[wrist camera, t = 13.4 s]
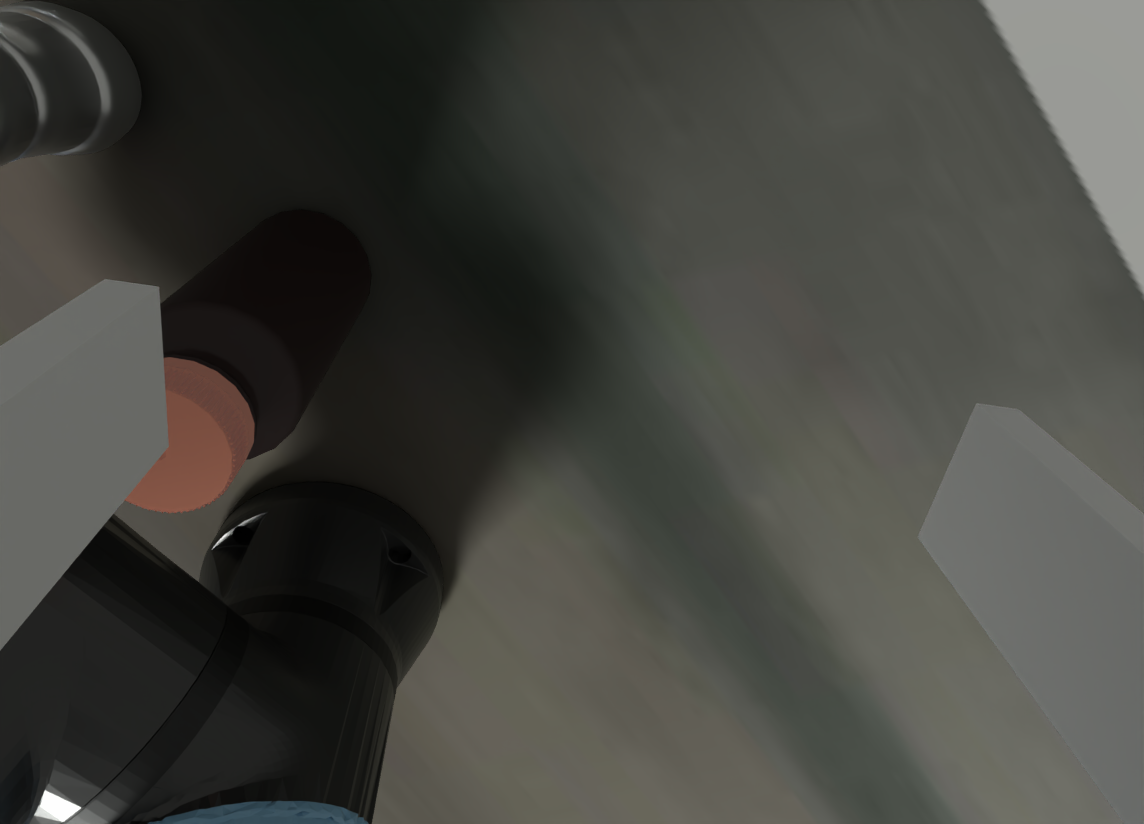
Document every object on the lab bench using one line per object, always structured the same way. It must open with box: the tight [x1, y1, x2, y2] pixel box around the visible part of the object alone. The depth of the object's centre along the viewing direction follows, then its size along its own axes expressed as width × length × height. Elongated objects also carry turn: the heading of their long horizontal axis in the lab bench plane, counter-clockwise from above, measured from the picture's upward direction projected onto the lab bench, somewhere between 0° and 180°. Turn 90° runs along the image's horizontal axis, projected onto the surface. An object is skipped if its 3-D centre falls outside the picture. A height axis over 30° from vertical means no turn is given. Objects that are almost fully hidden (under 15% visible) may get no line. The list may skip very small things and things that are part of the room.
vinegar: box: [124, 210, 371, 513], centre depth 35 cm, size 7×7×20 cm
